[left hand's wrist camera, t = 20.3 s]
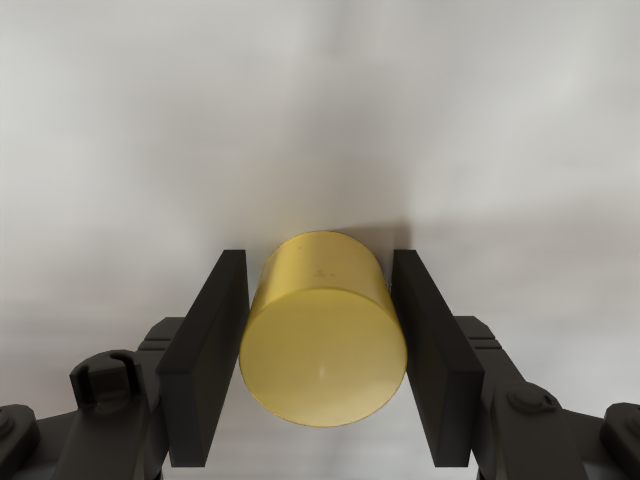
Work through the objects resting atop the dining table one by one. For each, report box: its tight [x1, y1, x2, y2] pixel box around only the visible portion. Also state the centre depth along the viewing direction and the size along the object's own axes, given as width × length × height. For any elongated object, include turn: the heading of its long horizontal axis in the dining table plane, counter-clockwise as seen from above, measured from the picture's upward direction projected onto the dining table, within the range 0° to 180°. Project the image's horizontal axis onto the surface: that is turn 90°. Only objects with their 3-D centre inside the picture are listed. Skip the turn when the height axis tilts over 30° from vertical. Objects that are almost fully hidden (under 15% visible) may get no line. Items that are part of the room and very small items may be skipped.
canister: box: [239, 231, 408, 427], centre depth 13 cm, size 5×5×4 cm
